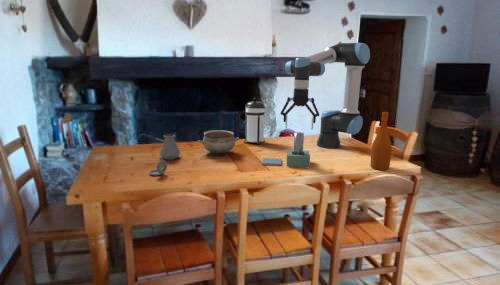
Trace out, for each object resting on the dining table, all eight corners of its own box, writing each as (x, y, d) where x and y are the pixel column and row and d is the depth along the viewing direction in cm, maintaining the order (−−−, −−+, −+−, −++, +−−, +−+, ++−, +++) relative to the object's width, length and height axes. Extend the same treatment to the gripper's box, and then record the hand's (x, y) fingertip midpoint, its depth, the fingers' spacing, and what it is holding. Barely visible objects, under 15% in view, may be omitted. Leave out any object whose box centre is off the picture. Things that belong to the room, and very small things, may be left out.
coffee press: (260, 139, 253) (261, 96, 246) (268, 144, 238) (270, 98, 231) (236, 140, 248) (236, 96, 241) (243, 146, 233) (244, 99, 226)
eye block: (308, 161, 203) (308, 150, 201) (309, 167, 191) (310, 156, 190) (286, 160, 204) (287, 149, 203) (286, 166, 192) (286, 155, 191)
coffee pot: (178, 154, 213) (178, 129, 209) (182, 159, 202) (181, 133, 199) (140, 157, 206) (139, 131, 202) (142, 162, 195) (140, 135, 192)
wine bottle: (390, 171, 187) (397, 113, 180) (370, 170, 189) (376, 112, 182) (387, 165, 196) (393, 110, 189) (368, 164, 198) (374, 109, 191)
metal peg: (302, 162, 200) (303, 132, 196) (302, 165, 195) (304, 134, 191) (293, 162, 200) (294, 132, 196) (293, 165, 196) (294, 134, 191)
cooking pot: (201, 159, 203) (201, 138, 200) (194, 151, 220) (194, 131, 217) (244, 155, 211) (244, 135, 208) (234, 148, 229) (234, 129, 226)
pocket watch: (151, 171, 181) (149, 152, 178) (168, 171, 182) (167, 152, 179) (147, 177, 173) (146, 157, 171) (165, 177, 174) (165, 157, 171)
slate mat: (281, 160, 203) (281, 158, 203) (280, 165, 194) (280, 164, 193) (263, 159, 204) (263, 158, 204) (262, 164, 195) (262, 163, 194)
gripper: (276, 88, 185) (275, 128, 190) (326, 89, 183) (323, 130, 188) (277, 86, 193) (275, 126, 198) (325, 88, 190) (322, 128, 195)
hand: (299, 128), depth 193 cm, fingers open, 13 cm apart
